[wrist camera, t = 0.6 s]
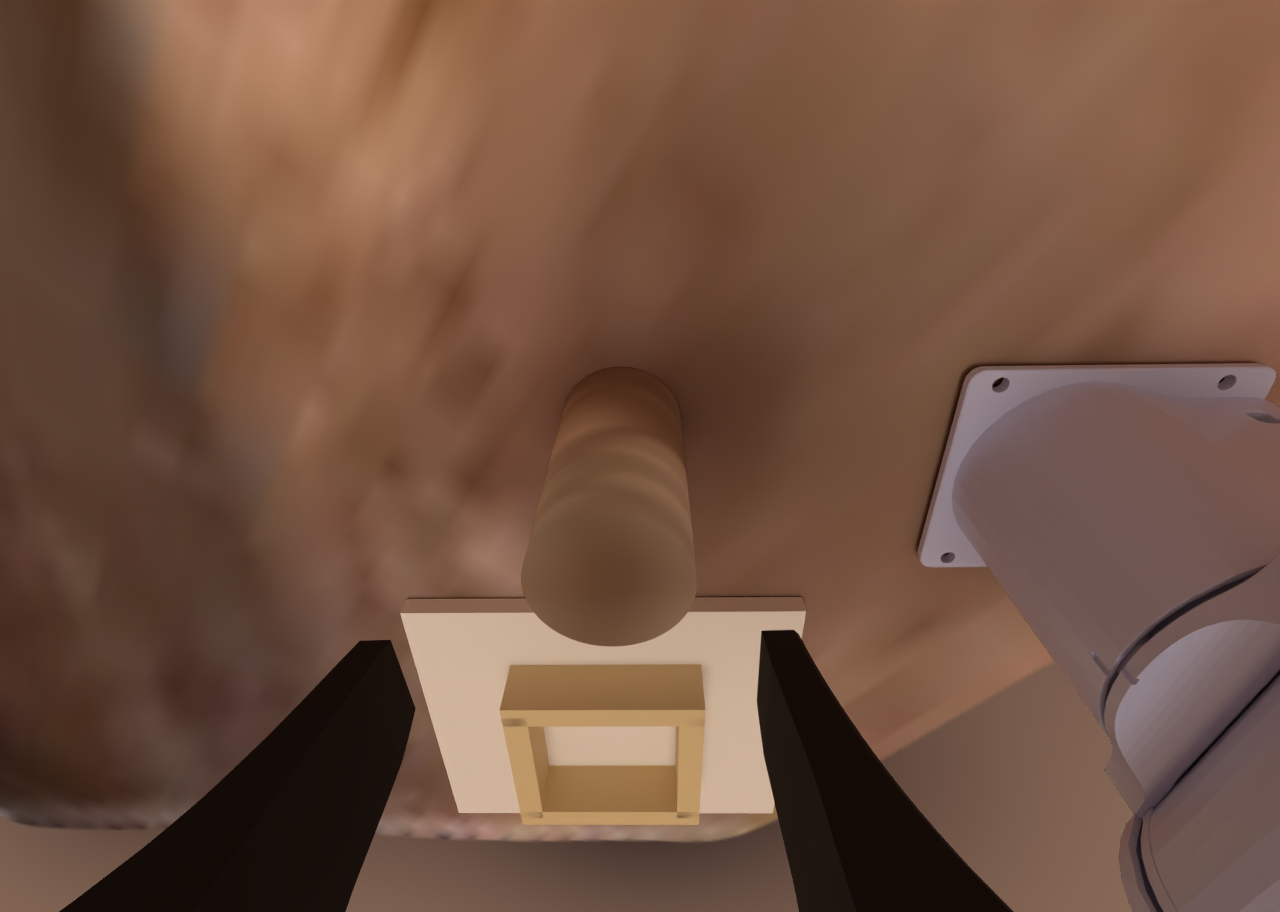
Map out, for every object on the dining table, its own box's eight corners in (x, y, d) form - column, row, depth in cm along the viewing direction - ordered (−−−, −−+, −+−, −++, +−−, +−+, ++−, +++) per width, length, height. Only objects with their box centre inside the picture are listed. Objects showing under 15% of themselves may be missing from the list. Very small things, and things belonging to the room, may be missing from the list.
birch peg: (681, 366, 20) (699, 512, 13) (679, 471, 22) (694, 646, 15) (557, 367, 20) (510, 514, 13) (567, 472, 22) (530, 646, 15)
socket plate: (801, 597, 25) (819, 655, 22) (770, 797, 32) (780, 859, 29) (406, 598, 25) (379, 657, 23) (462, 797, 32) (446, 858, 30)
